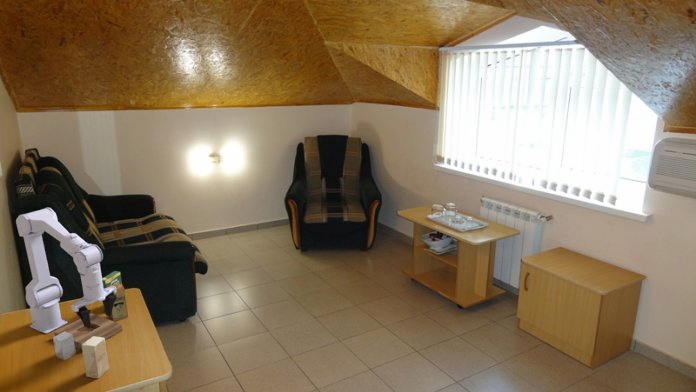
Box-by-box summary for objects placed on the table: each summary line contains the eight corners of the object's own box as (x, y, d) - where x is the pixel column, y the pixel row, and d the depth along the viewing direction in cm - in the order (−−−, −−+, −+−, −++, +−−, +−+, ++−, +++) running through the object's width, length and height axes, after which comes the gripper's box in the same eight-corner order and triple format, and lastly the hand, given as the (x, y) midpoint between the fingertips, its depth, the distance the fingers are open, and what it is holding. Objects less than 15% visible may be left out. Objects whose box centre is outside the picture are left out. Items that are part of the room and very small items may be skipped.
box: (98, 379, 144) (93, 347, 141) (85, 377, 145) (80, 345, 142) (110, 368, 149) (105, 337, 146) (97, 366, 150) (92, 335, 146)
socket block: (55, 338, 164) (54, 332, 163) (92, 319, 176) (91, 313, 175) (85, 351, 157) (84, 345, 156) (122, 330, 169) (121, 324, 168)
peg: (56, 356, 154) (52, 337, 152) (68, 349, 158) (64, 331, 156) (64, 360, 152) (60, 340, 150) (76, 353, 156) (72, 334, 154)
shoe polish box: (110, 315, 178) (106, 286, 175) (125, 311, 181) (121, 282, 178) (113, 321, 174) (109, 291, 171) (128, 317, 177) (124, 287, 174)
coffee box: (109, 312, 180) (105, 280, 177) (103, 310, 181) (98, 279, 177) (125, 301, 188) (121, 271, 184) (119, 300, 189) (114, 270, 185)
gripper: (79, 296, 144) (85, 335, 148) (120, 276, 156) (125, 313, 160) (64, 290, 147) (71, 329, 151) (106, 272, 159) (111, 308, 163)
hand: (98, 321), depth 156 cm, fingers open, 7 cm apart
